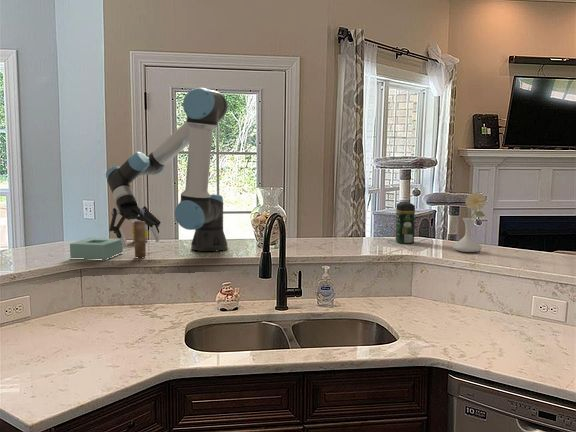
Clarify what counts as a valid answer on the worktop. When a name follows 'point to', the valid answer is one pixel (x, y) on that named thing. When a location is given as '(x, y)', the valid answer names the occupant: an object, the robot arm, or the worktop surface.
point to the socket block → (95, 248)
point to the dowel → (139, 239)
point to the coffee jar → (405, 222)
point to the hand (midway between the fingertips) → (142, 242)
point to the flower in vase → (467, 241)
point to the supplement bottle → (145, 229)
